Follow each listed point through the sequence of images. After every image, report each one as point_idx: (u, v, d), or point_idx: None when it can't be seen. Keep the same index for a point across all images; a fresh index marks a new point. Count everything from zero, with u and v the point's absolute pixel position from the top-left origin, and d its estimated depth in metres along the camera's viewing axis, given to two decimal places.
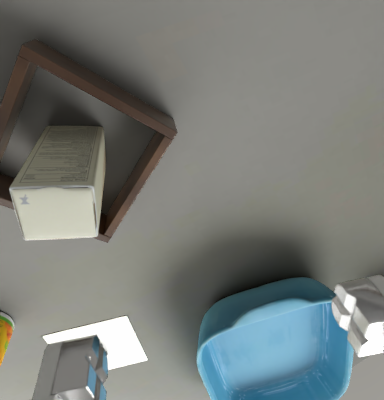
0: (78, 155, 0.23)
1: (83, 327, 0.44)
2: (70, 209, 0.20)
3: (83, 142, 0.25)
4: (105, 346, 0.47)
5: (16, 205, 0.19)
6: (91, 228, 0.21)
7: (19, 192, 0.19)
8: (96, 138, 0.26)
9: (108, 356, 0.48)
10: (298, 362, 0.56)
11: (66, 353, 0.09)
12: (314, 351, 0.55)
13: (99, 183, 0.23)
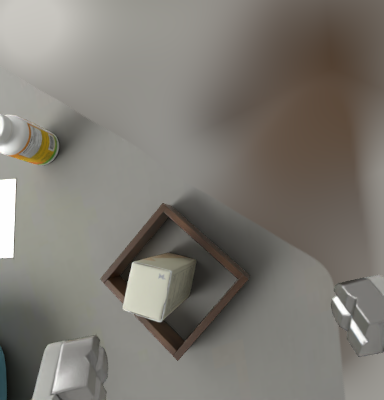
0: (177, 297, 0.34)
1: (13, 215, 0.47)
2: (148, 302, 0.30)
3: (183, 294, 0.36)
4: None
5: (159, 269, 0.30)
6: (130, 309, 0.30)
7: (167, 276, 0.30)
8: (183, 300, 0.37)
9: None
10: None
11: (66, 353, 0.09)
12: None
13: None
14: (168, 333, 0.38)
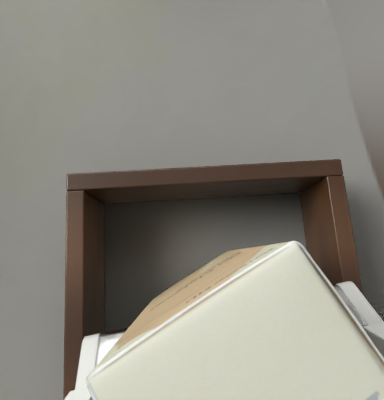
0: None
1: None
2: None
3: None
4: None
5: None
6: None
7: None
8: None
9: None
10: None
11: (104, 345, 0.09)
12: None
13: None
14: None
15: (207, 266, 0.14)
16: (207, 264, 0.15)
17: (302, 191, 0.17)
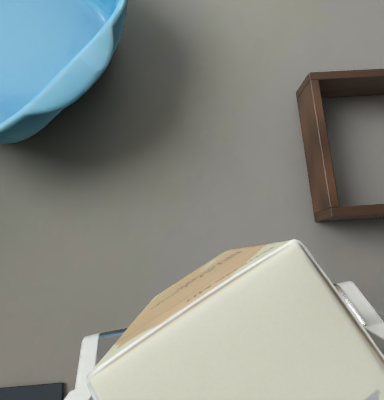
0: None
1: None
2: None
3: None
4: None
5: None
6: None
7: None
8: None
9: None
10: None
11: (104, 345, 0.09)
12: None
13: None
14: None
15: (207, 265, 0.14)
16: (207, 263, 0.15)
17: None
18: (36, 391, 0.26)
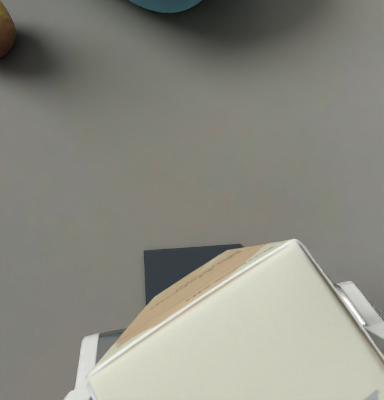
0: None
1: None
2: None
3: None
4: None
5: None
6: None
7: None
8: None
9: None
10: None
11: (104, 345, 0.09)
12: None
13: None
14: None
15: (207, 265, 0.14)
16: (207, 263, 0.15)
17: None
18: (215, 251, 0.26)
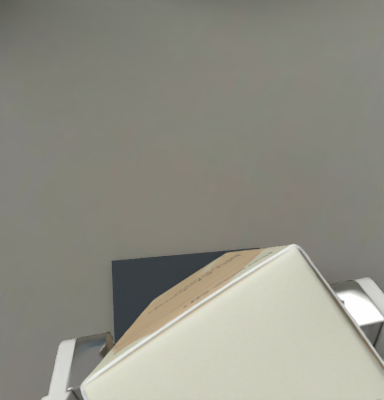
0: None
1: None
2: None
3: None
4: None
5: None
6: None
7: None
8: None
9: None
10: None
11: (80, 350, 0.09)
12: None
13: None
14: None
15: (206, 268, 0.14)
16: (206, 266, 0.15)
17: None
18: None
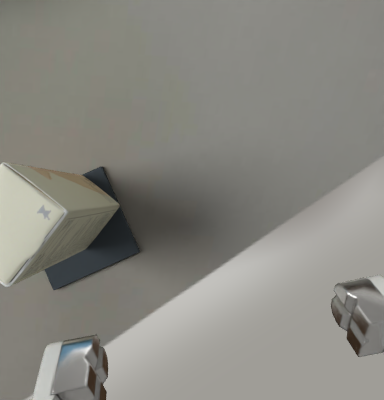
0: (63, 251, 0.20)
1: None
2: None
3: (77, 246, 0.22)
4: None
5: (46, 198, 0.16)
6: None
7: (55, 216, 0.15)
8: (73, 254, 0.23)
9: None
10: None
11: (66, 353, 0.09)
12: None
13: None
14: None
15: None
16: None
17: None
18: None
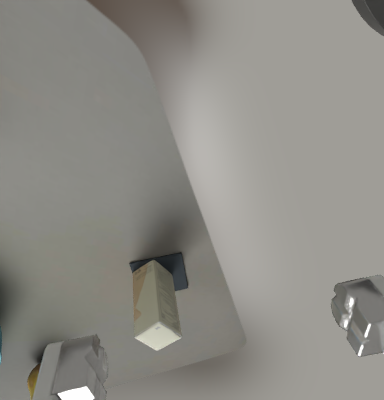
0: (172, 304, 0.44)
1: None
2: (165, 339, 0.40)
3: (171, 290, 0.46)
4: None
5: (152, 327, 0.39)
6: (160, 348, 0.41)
7: (160, 325, 0.39)
8: (173, 289, 0.47)
9: None
10: None
11: (66, 353, 0.09)
12: None
13: None
14: None
15: None
16: None
17: None
18: None
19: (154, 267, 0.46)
